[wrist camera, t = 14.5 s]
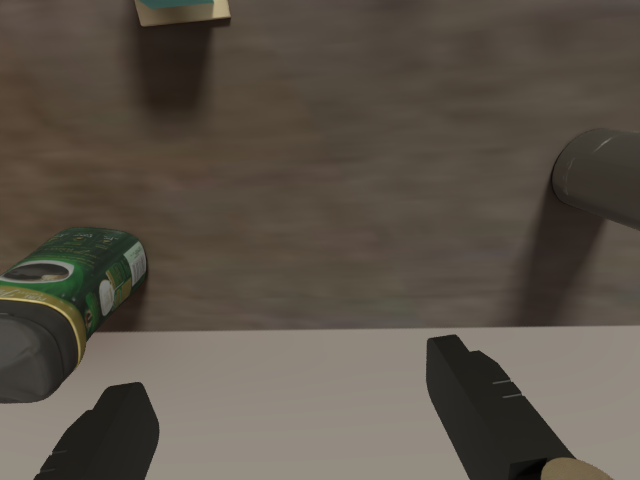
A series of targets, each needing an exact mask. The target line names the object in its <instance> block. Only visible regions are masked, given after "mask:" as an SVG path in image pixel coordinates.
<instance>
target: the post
mask: <svg viewBox="0 0 640 480" xmlns="http://www.w3.org/2000/svg"><path fill="white" fill-rule="evenodd" d="M134 1H135V5H136V8H137V12H138V16H139V20H140V23H141V26H143V27H146V26H156V25H166V24H175V23H185V22H195V21H204V20H214V19H223V18H231V16H230V10H229V5H228V0H214V3H206V4H196V5H186V6H176V7H166V8H156V9H150V8H149V7H147V6H146V5H145V4H143V3H142V2H140V1H139V0H134Z"/></svg>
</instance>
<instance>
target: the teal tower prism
mask: <svg viewBox="0 0 640 480" xmlns="http://www.w3.org/2000/svg"><path fill="white" fill-rule="evenodd" d="M139 1H140V2H142V3H143V4H145V5H146V6H147V7H149V8H150V9H156V8H166V7H176V6H186V5H196V4H206V3H214V0H139Z"/></svg>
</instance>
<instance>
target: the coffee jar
mask: <svg viewBox="0 0 640 480" xmlns="http://www.w3.org/2000/svg"><path fill="white" fill-rule="evenodd" d="M145 275H146V256H145V252H144V248H143V246H142V244H141V243H140V241H139V240H138V239H137V238H136V237H134V236H133V235H131V234H129V233H126V232H123V231H118V230H111V229H105V228H88V227H84V228H69V229H66V230H63V231H61V232H60V233H58V234H57V235H55V236H54V237H52V238H51V239H49V240H48V241H47V242H45V243H44V244H43V245H42V246H40V247H39V248H38V249H37V250H35V251H34V252H33V253H31V254H30V255H29V256H27V257H26V258H24V259H23V260H22V261H20V262H19V263H17V264H16V265H14V266H13V267H12V268H10V269H9V270H7V271H6V272H4V273H3V274H1V275H0V403H4V404H5V403H32V402H38V401H41V400H44V399H46V398H48V397H49V396H50V395H51V394H53V393H54V392H55V391H56V390H57V389H58V388H59V386H60V385H61V383H62V382H63V381H64V380H65V379H66V378H67V377H68V376H69V375H70V374H71V373H72V372H73V371H74V370H75V369H76V368H77V367H78V365H79V363H80V362H81V360H82V358H83V355H84V352H85V347H86V342H87V341H88V339H89V338H90V337H91V335H92V334H93V333H94V332H95V331H96V330H97V329H98V328H99V327H100V326H101V324H102V323H103V322H104V321H105V320H106V319H107V318H108V317H109V316H110V315H111V314H112V313H113V312H114V311H115V310H116V309H117V308H118V307H119V306H120V305H121V304H122V303H123V302H124V301H125V300H126V299H127V298H129V297H130V296H131V295H132V294H133V293H134V291H135V290H136V289H137V288H138V287H139V286H140V285H141V283H142V282H143V280H144V278H145Z"/></svg>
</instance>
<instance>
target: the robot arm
mask: <svg viewBox="0 0 640 480" xmlns="http://www.w3.org/2000/svg"><path fill="white" fill-rule="evenodd" d="M552 184H553V189H554V192H555V194H556V196H557V197H558V198H559V199H560V200H561V201H562V202H564V203H565V204H568V205H571V206H573V207H576V208H579V209H582V210H584V211H587V212H590V213H592V214H595V215H598V216H600V217H603V218H606V219H609V220H611V221H614V222H617V223H620V224H622V225H625V226H628V227H631V228H633V229H636V230H639V231H640V132H633V131H621V130H609V129H597V130H592V131H589V132H586V133H584V134H582V135H580V136H578V137H577V138H576V139H574V140H573V141H572V142H571V143H570V144H569V145H568V146H567V147H566V148H565V149H564V150H563V152H562V153H561V155H560V156H559V158H558V160H557V162H556V164H555V167H554V171H553V176H552ZM426 362H427V363H426V382H427V388H428V392H429V396H430V398H431V401H432V403H433V405H434V407H435V409H436V411H437V414H438V416H439V417H440V420H441V422H442V424H443V426H444V428H445V430H446V432H447V434H448V436H449V438H450V440H451V442H452V444H453V446H454V448H455V450H456V452H457V454H458V456H459V458H460V460H461V462H462V464H463V467H464V469H465V471H466V473H467V475H468V477H469V479H470V480H614V479H613V478H611V477H610V476H609V475H608V474H606V473H605V472H603V471H602V470H600V469H598V468H597V467H595V466H593V465H591V464H589V463H586V462H584V461H581V460H578V459H576V458H575V457H574V456H573V455H572V454H571V452H570V451H569V450H568V449H567V448H566V446H565V445H564V444H563V443H562V442H561V440H560V439H559V438H558V437H557V436H556V434H555V433H554V432H553V431H552V429H551V428H550V427H549V426H548V425H547V423H546V422H545V421H544V419H543V418H542V417H541V416H540V415H539V413H538V412H537V411H536V410H535V409H534V407H533V406H532V405H531V404H530V402H529V401H528V400H527V399H526V397H525V396H522V394H521V391H520V390H519V389H518V388H517V386H516V385H515V384H514V383H513V382H511V380H510V378H509V377H508V375H507V374H506V373H505V372H504V370H503V369H502V368H501V367H500V365H499V364H498V363H497V362H495V361H494V360H493V359H491V358H490V357H488V356H487V355H485V354H484V353H482V352H481V351H479V350H478V351H472V352H469V350H468V349H467V348H466V346H465V345H464V344H463V342H462V341H461V340H460V338H459V337H457V335H447V336H441V337H434V338H429V339H428V340H427V361H426ZM158 440H159V423H158V419H157V417H156V414H155V412H154V410H153V407H152V405H151V402H150V400H149V397H148V395H147V393H146V390H145V388H144V386H143V384H142V383H140V382H135V383H128V384H121V385H115V386H110V387H108V388H107V389H106V390H105V391H104V392H103V394H102V395H101V397H100V398H99V400H98V402H97V403H96V405H95V406H94V408H93V410H87V411H86V412H85V413H84V414H82V416H80V418H78V419H77V420H76V421H75V422H74V423H73V424H72V425H71V426H70V427H69V428H68V429H67V430H66V431H65V433H64V434H63V436H62V437H61V439H60V440H59V442H58V443H57V445H56V446H55V448H54V449H53V451H52V452H53V453H52V455H49V457H48V458H47V460H46V461H45V463H44V464H43V466H42V467H41V469H40V473H39V474H37V475H36V476H35V478H34V480H145V477H146V474H147V472H148V469H149V466H150V463H151V461H152V458H153V455H154V453H155V450H156V447H157V444H158Z"/></svg>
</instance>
